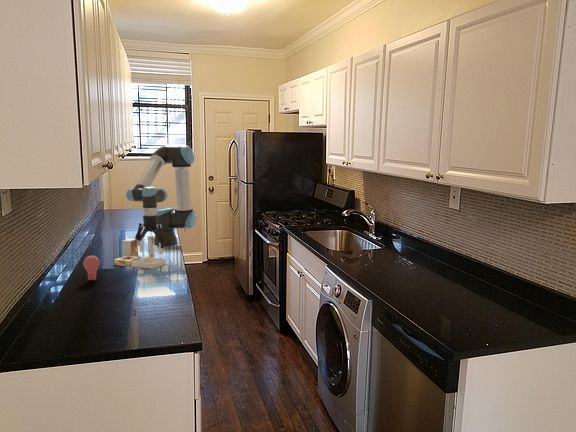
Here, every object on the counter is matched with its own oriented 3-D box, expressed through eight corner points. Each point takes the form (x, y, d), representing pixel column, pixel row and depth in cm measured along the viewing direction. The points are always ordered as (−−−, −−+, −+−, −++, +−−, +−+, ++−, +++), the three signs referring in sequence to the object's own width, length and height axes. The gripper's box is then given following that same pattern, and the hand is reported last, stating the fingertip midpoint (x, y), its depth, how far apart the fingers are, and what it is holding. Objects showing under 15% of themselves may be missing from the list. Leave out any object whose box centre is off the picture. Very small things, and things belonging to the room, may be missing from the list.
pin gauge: (151, 259, 248) (150, 235, 246) (155, 260, 247) (155, 236, 245) (147, 261, 245) (146, 236, 243) (152, 261, 244) (151, 237, 242)
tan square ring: (126, 260, 245) (126, 255, 245) (141, 262, 242) (141, 257, 242) (114, 264, 236) (114, 259, 236) (129, 266, 233) (129, 261, 232)
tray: (146, 261, 243) (145, 256, 243) (166, 264, 239) (165, 258, 239) (131, 267, 232) (131, 261, 232) (152, 269, 228) (152, 264, 228)
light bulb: (93, 277, 213) (92, 253, 212) (103, 279, 210) (102, 255, 208) (81, 281, 207) (79, 256, 205) (91, 283, 204) (89, 258, 202)
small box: (131, 259, 248) (130, 241, 247) (122, 258, 249) (121, 240, 248) (138, 256, 256) (138, 238, 255) (130, 255, 257) (129, 237, 256)
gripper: (127, 214, 242) (128, 252, 245) (164, 217, 234) (166, 256, 238) (136, 212, 249) (137, 249, 253) (173, 215, 241) (174, 253, 245)
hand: (151, 252), depth 245 cm, fingers open, 12 cm apart
